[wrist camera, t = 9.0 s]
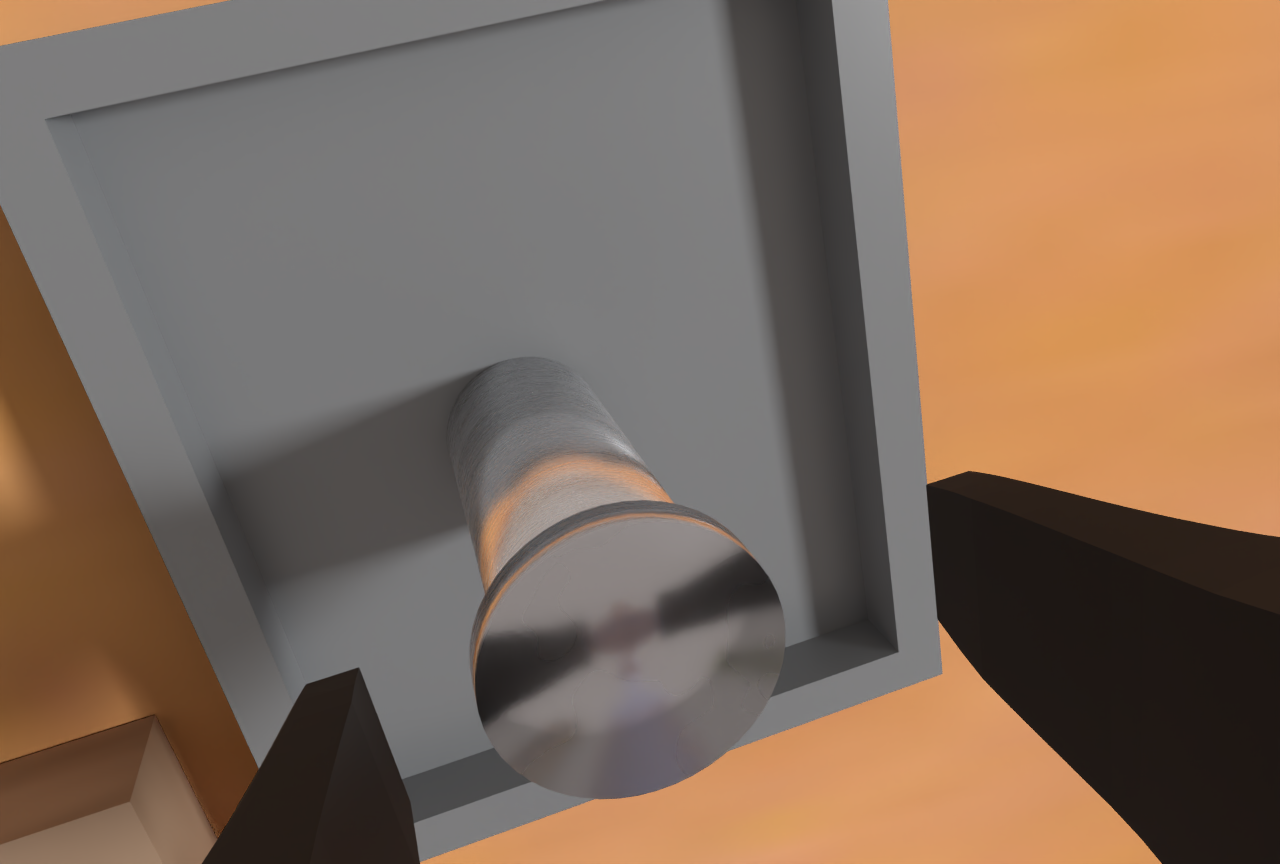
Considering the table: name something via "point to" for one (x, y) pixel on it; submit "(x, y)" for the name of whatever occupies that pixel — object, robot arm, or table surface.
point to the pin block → (102, 803)
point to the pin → (600, 596)
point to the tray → (482, 321)
